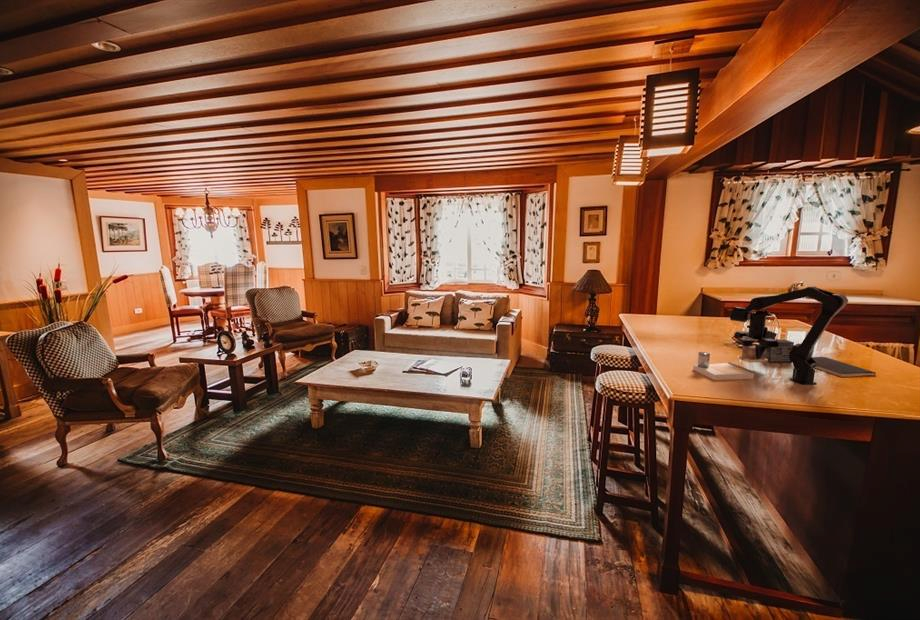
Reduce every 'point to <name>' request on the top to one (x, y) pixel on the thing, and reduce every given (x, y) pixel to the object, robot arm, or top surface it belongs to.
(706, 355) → the canister
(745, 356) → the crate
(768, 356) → the small box
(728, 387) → the top surface
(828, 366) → the hardcover book
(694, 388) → the top surface
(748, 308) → the robot arm
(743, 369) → the dock
